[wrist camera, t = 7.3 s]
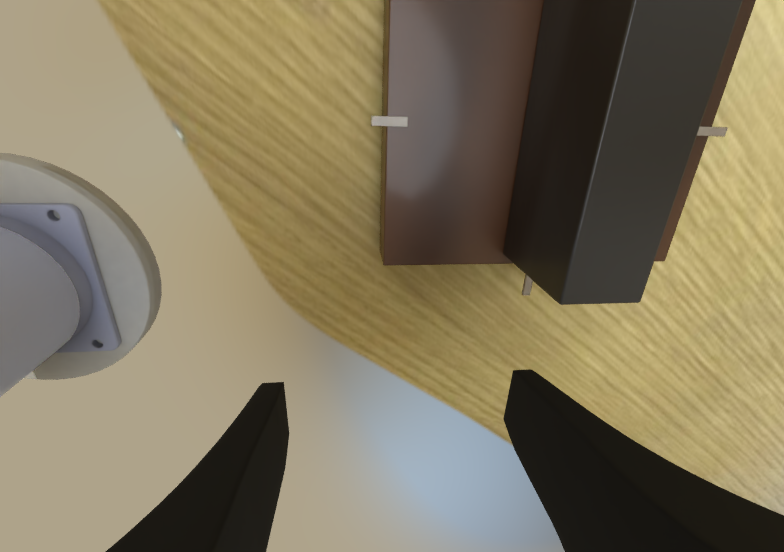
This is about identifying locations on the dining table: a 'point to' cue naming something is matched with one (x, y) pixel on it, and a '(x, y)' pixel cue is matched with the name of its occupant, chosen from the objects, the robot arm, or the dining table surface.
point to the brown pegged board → (473, 126)
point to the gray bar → (610, 139)
